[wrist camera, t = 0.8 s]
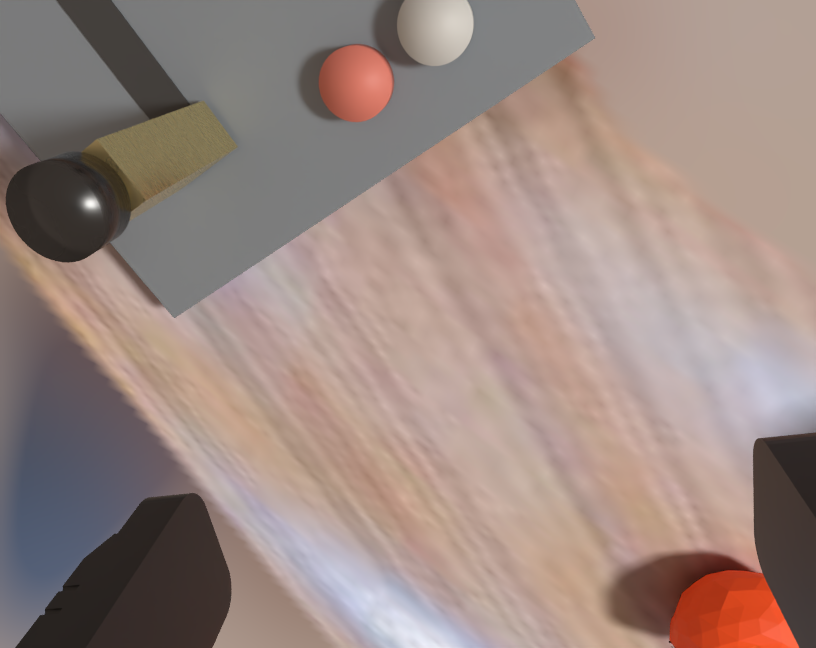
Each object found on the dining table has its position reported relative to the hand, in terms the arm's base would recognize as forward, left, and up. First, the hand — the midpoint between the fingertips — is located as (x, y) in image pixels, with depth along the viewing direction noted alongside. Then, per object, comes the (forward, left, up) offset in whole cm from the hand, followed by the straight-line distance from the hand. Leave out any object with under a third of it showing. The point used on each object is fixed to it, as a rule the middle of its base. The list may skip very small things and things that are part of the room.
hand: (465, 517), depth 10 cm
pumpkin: (+14, +27, -25) cm, 39 cm away
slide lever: (+6, -12, -23) cm, 27 cm away
